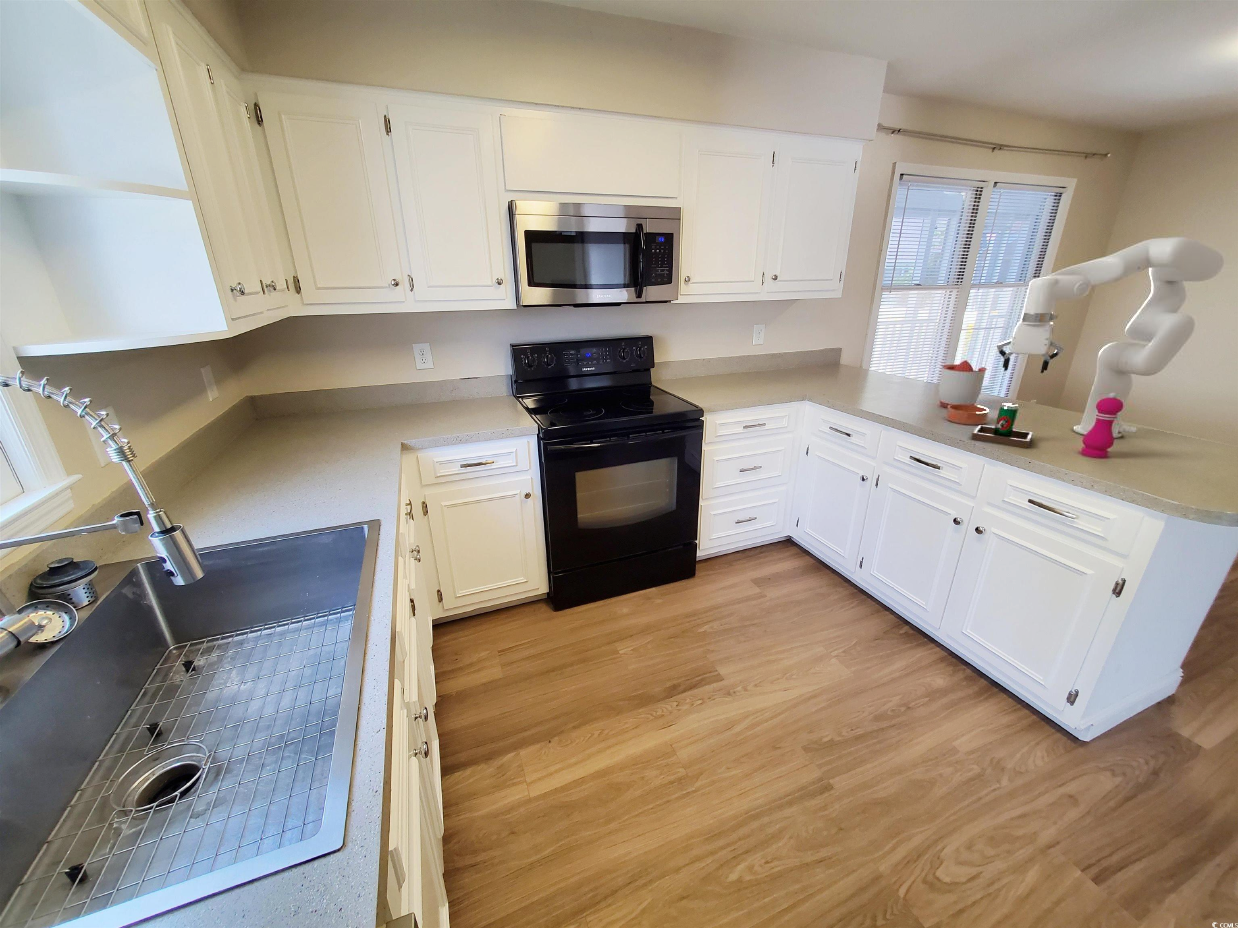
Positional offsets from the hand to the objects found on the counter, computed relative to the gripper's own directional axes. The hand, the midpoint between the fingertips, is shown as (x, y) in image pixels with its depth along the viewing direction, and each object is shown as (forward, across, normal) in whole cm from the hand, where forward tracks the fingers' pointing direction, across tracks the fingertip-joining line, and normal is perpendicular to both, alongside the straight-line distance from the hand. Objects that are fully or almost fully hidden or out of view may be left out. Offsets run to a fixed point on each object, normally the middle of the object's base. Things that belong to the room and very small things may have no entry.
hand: (1023, 371), depth 165 cm
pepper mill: (+24, -22, +4) cm, 33 cm away
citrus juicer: (+24, +22, -38) cm, 50 cm away
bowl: (+24, +16, -16) cm, 33 cm away
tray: (+24, +2, +3) cm, 24 cm away
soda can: (+23, +2, +3) cm, 23 cm away
